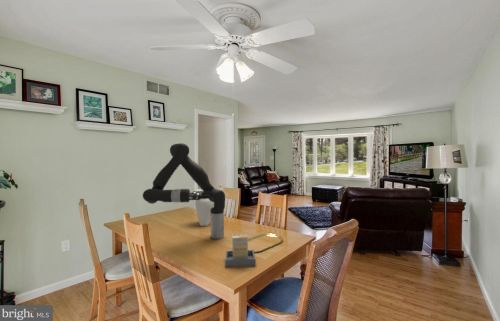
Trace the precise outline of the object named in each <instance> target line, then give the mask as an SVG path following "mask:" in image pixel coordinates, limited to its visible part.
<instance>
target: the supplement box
mask: <svg viewBox="0 0 500 321" xmlns="http://www.w3.org/2000/svg"><path fill="white" fill-rule="evenodd" d="M231 238H232V242H231V243H232V244H231V245H232V251H233V259H248V250H249V248H248V245H249V244H248V243H249V242H248V239H249V238H248V234H232V236H231Z"/></svg>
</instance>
